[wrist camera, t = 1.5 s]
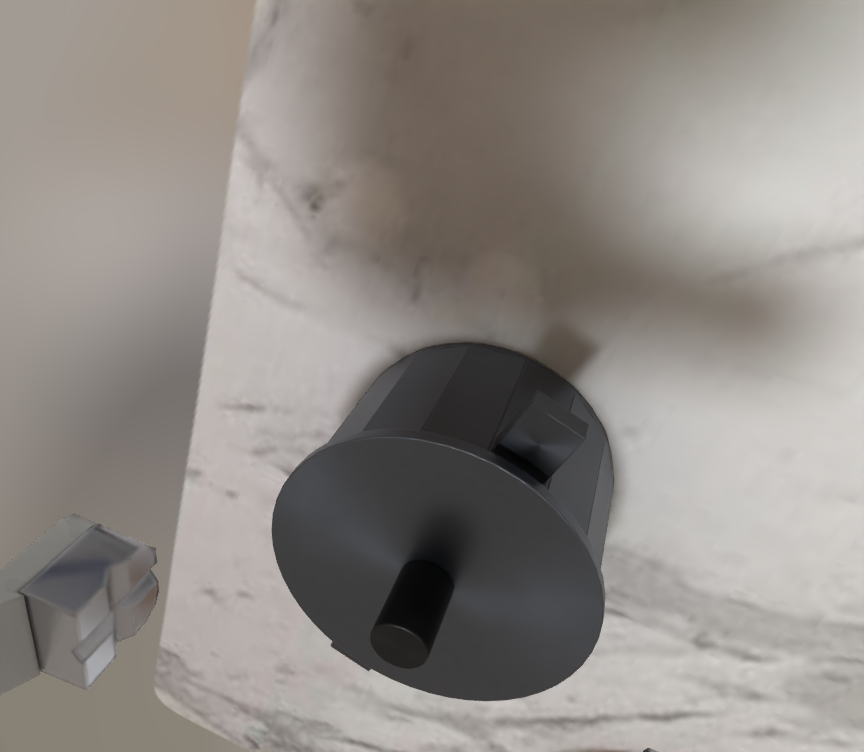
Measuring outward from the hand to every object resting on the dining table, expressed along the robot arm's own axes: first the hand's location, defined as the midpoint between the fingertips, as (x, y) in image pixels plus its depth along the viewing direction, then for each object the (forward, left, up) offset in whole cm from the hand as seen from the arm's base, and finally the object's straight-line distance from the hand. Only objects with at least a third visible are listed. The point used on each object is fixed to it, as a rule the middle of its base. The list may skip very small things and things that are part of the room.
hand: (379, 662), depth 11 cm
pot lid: (+3, -13, -14) cm, 20 cm away
